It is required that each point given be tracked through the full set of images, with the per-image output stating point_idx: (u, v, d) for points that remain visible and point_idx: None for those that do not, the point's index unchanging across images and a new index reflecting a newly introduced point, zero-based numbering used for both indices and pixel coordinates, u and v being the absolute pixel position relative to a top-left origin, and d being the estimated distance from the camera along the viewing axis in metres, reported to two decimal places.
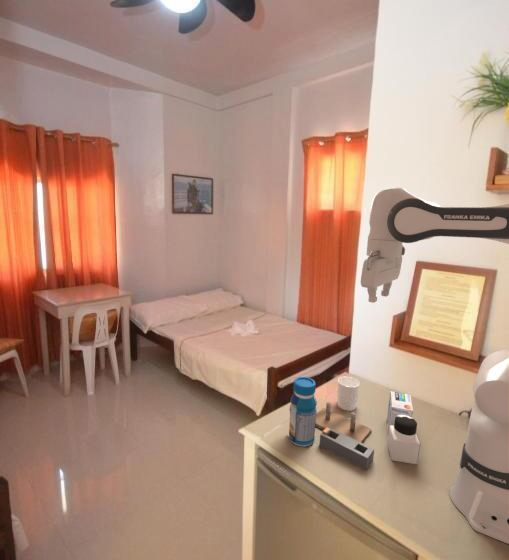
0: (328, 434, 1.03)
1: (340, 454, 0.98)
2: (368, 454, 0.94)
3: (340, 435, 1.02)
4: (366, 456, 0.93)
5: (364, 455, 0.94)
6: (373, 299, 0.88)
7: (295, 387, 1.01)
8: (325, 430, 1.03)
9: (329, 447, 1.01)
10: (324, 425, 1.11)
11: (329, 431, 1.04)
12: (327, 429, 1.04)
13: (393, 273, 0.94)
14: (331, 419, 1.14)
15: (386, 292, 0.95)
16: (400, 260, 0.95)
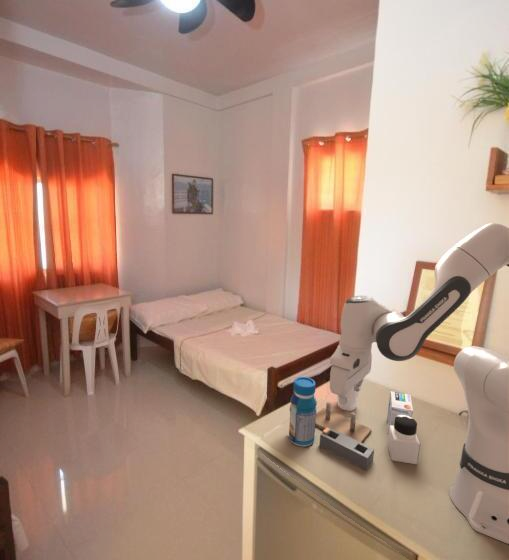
0: (328, 434, 1.03)
1: (340, 454, 0.98)
2: (368, 454, 0.94)
3: (340, 435, 1.02)
4: (366, 456, 0.93)
5: (364, 455, 0.94)
6: None
7: (295, 387, 1.01)
8: (325, 430, 1.03)
9: (329, 447, 1.01)
10: (324, 425, 1.11)
11: (329, 431, 1.04)
12: (327, 429, 1.04)
13: None
14: (331, 419, 1.14)
15: None
16: None
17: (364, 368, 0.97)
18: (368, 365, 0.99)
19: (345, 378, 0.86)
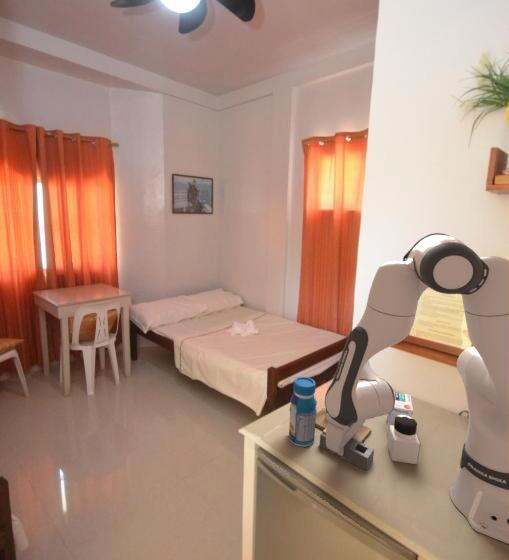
0: None
1: None
2: (368, 454, 0.94)
3: None
4: (366, 456, 0.93)
5: (364, 455, 0.94)
6: None
7: (295, 387, 1.01)
8: (325, 430, 1.03)
9: None
10: (324, 425, 1.11)
11: None
12: None
13: None
14: None
15: None
16: None
17: (359, 420, 1.00)
18: None
19: (340, 436, 0.89)
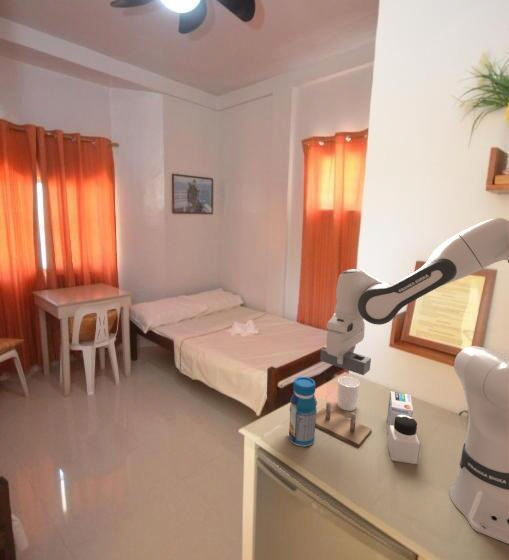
0: None
1: (339, 364, 1.06)
2: (365, 361, 1.02)
3: None
4: (363, 362, 1.01)
5: (361, 361, 1.01)
6: None
7: (295, 387, 1.01)
8: (325, 346, 1.11)
9: (329, 360, 1.08)
10: (324, 425, 1.11)
11: None
12: None
13: None
14: (331, 419, 1.14)
15: None
16: None
17: (357, 335, 1.08)
18: (361, 332, 1.10)
19: (340, 340, 0.97)
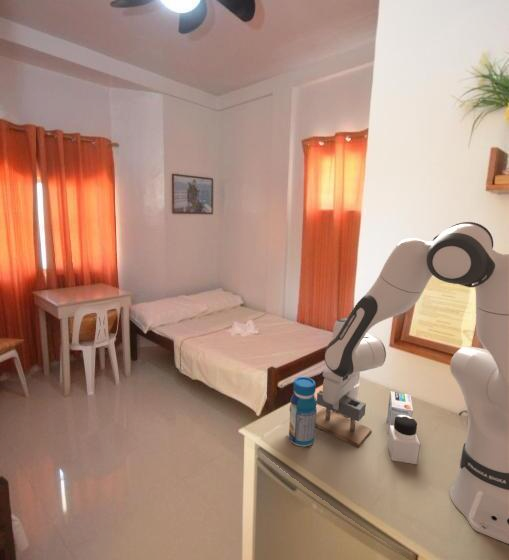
0: None
1: (335, 409, 1.09)
2: (360, 407, 1.05)
3: None
4: (358, 408, 1.04)
5: (356, 408, 1.04)
6: None
7: (295, 387, 1.01)
8: (321, 389, 1.14)
9: (325, 404, 1.11)
10: (324, 425, 1.11)
11: None
12: None
13: None
14: (331, 419, 1.14)
15: None
16: None
17: (353, 379, 1.10)
18: (356, 376, 1.13)
19: (335, 389, 1.00)
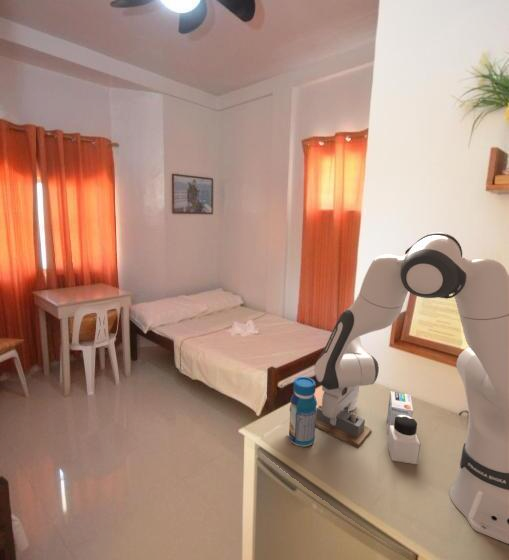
0: None
1: None
2: (359, 423, 1.06)
3: None
4: (357, 425, 1.05)
5: (355, 424, 1.05)
6: None
7: (295, 387, 1.01)
8: (321, 404, 1.15)
9: (325, 419, 1.12)
10: (324, 425, 1.11)
11: None
12: None
13: None
14: None
15: None
16: None
17: (352, 392, 1.12)
18: (356, 389, 1.14)
19: (335, 404, 1.01)
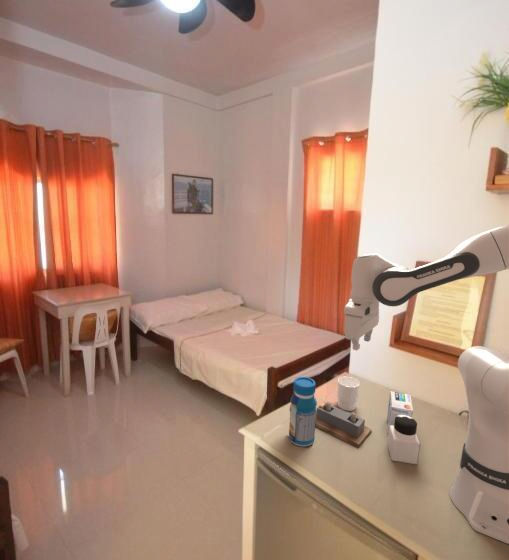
0: (324, 408, 1.15)
1: (334, 425, 1.10)
2: (359, 423, 1.06)
3: (334, 409, 1.14)
4: (357, 425, 1.05)
5: (355, 424, 1.05)
6: None
7: (295, 387, 1.01)
8: (321, 404, 1.15)
9: (325, 419, 1.12)
10: (324, 425, 1.11)
11: (325, 405, 1.15)
12: (323, 404, 1.15)
13: None
14: None
15: None
16: None
17: (373, 319, 1.09)
18: (376, 317, 1.11)
19: (358, 324, 0.98)
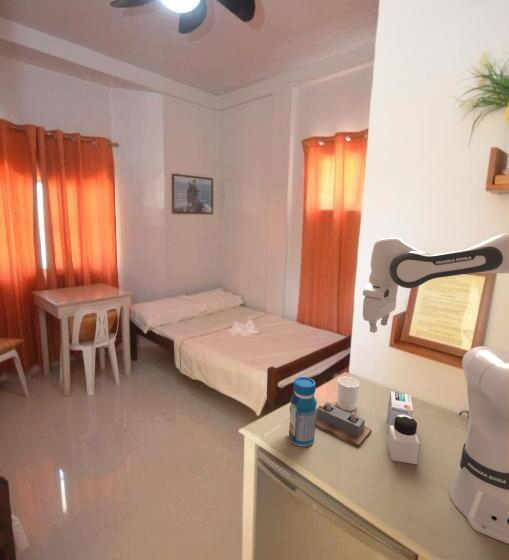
0: (324, 408, 1.15)
1: (334, 425, 1.10)
2: (359, 423, 1.06)
3: (334, 409, 1.14)
4: (357, 425, 1.05)
5: (355, 424, 1.05)
6: None
7: (295, 387, 1.01)
8: (321, 404, 1.15)
9: (325, 419, 1.12)
10: (324, 425, 1.11)
11: (325, 405, 1.15)
12: (323, 404, 1.15)
13: None
14: None
15: None
16: None
17: (391, 303, 1.10)
18: (394, 302, 1.12)
19: (377, 305, 0.99)
